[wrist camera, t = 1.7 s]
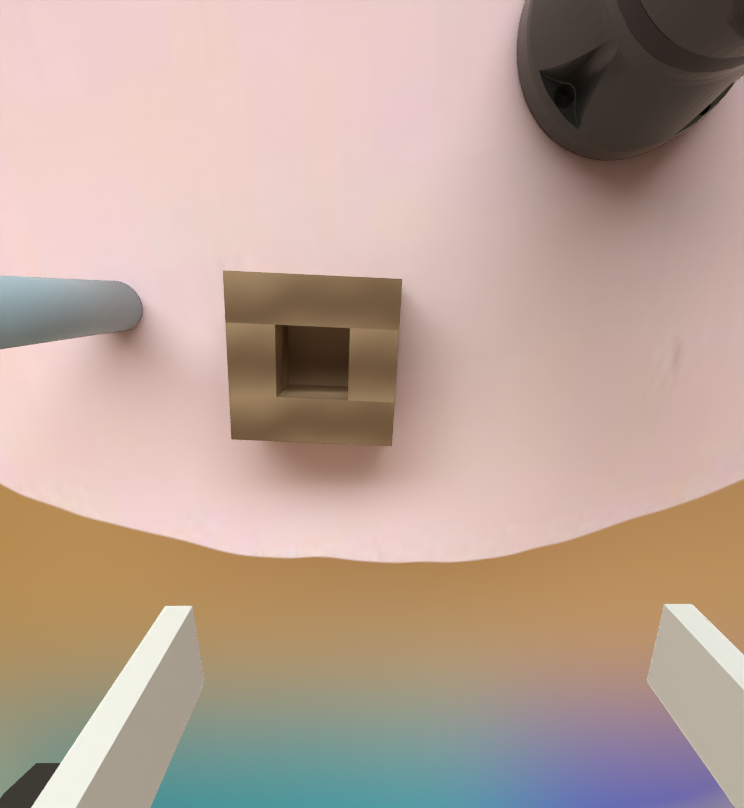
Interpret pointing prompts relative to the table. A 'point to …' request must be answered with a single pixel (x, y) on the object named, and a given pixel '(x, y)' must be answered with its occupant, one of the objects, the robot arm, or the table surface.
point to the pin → (63, 309)
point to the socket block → (312, 357)
